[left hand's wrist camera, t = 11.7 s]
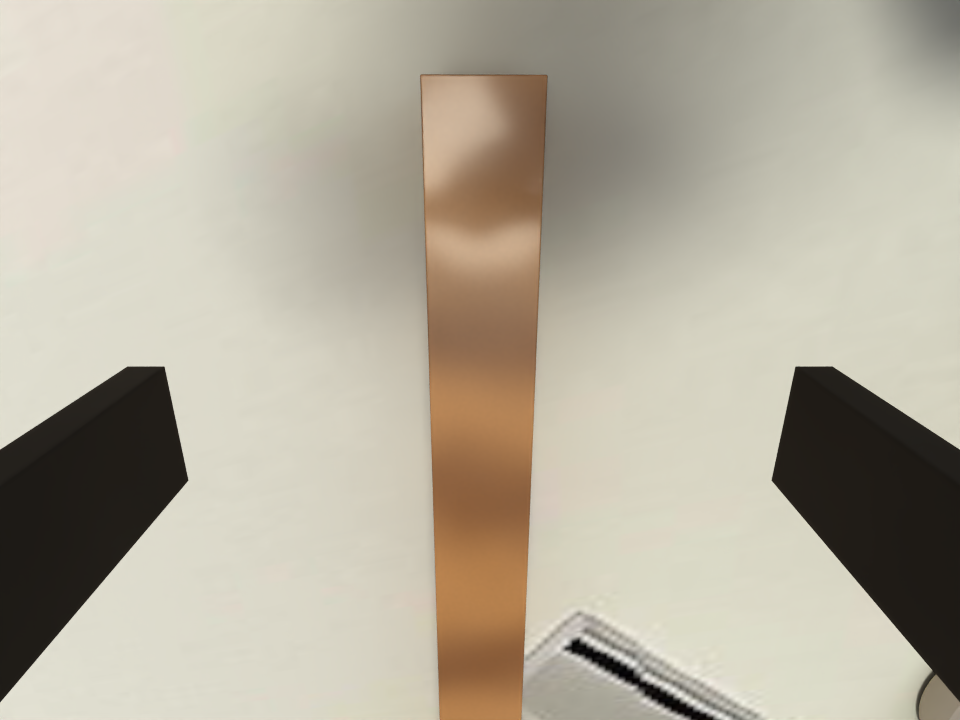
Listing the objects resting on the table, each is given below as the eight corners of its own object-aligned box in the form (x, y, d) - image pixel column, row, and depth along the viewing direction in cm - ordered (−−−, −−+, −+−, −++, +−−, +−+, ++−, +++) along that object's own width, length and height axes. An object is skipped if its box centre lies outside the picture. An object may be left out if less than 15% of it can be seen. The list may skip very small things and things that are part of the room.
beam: (434, 89, 30) (420, 74, 23) (531, 89, 30) (547, 74, 23) (451, 837, 52) (446, 952, 45) (507, 837, 52) (511, 952, 45)
